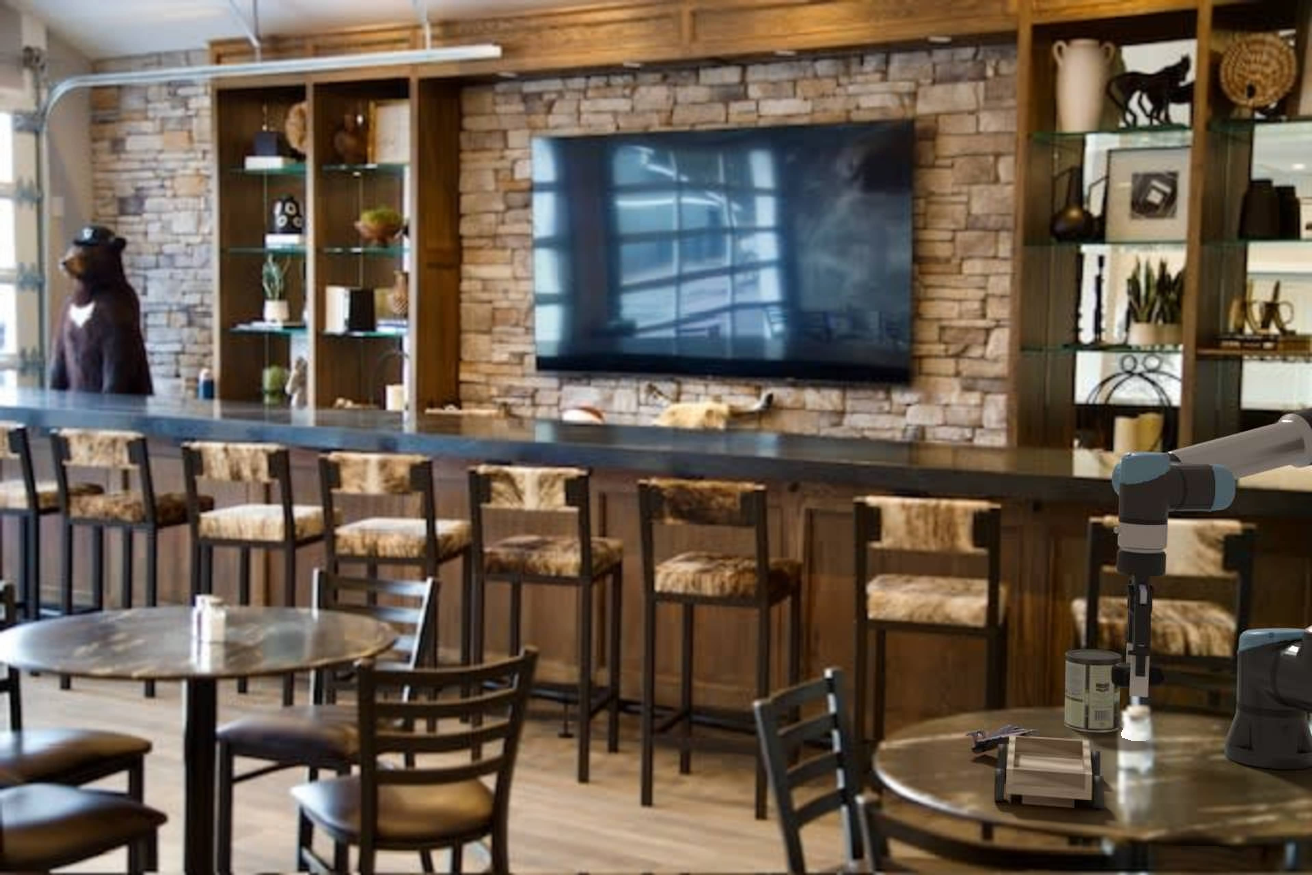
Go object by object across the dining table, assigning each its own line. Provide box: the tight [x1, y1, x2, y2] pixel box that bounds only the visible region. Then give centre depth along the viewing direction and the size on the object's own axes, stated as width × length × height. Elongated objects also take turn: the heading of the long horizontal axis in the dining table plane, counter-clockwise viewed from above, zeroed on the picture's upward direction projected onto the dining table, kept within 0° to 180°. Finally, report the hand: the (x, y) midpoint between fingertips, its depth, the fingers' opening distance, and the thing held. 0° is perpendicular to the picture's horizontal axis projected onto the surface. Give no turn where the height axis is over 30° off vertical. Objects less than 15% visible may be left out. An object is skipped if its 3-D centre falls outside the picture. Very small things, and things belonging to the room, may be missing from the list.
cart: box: [993, 735, 1105, 810], centre depth 264 cm, size 22×17×6 cm
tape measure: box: [1111, 662, 1165, 689], centre depth 259 cm, size 7×7×4 cm
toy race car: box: [965, 724, 1040, 755], centre depth 282 cm, size 13×6×4 cm, turn 42°
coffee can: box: [1064, 648, 1123, 733], centre depth 307 cm, size 10×10×14 cm
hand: (1136, 689), depth 259 cm, fingers closed on tape measure, 9 cm apart
